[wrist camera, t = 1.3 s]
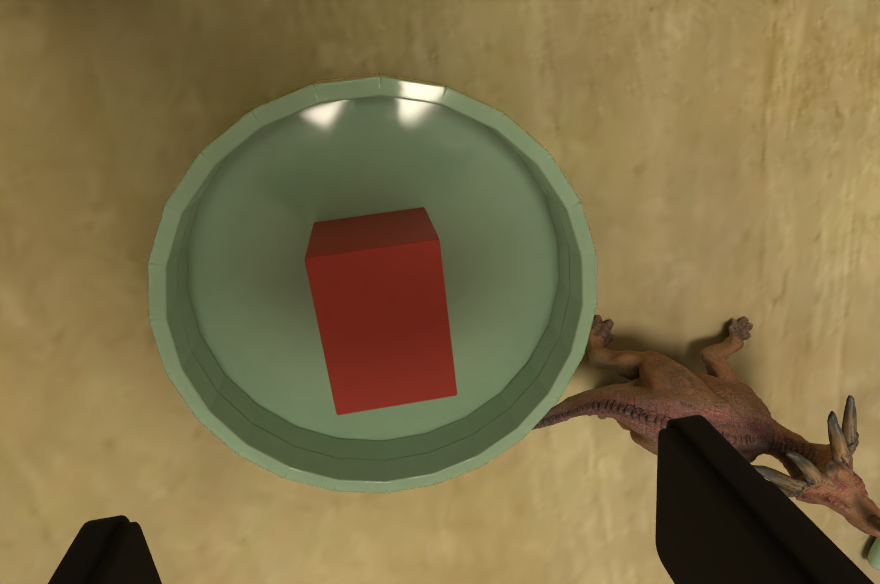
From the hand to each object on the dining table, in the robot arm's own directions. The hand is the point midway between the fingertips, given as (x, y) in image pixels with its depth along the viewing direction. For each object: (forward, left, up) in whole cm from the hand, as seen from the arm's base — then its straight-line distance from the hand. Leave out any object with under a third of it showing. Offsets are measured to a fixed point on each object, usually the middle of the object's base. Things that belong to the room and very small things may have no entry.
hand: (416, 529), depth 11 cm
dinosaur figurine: (+14, +3, -16) cm, 21 cm away
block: (0, -1, -15) cm, 15 cm away
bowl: (0, -1, -15) cm, 15 cm away
